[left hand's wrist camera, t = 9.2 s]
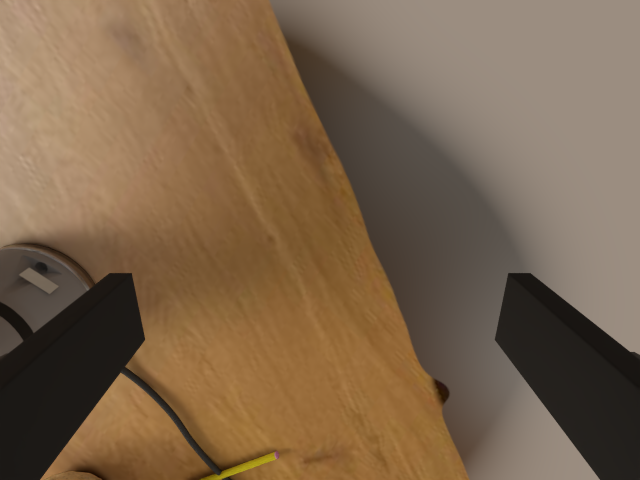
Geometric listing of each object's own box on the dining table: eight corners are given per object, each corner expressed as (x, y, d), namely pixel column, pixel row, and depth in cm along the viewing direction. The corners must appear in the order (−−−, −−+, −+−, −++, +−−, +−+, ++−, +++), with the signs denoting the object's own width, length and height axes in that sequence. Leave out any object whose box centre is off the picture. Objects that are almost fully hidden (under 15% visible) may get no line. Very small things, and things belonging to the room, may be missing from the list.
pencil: (276, 449, 54) (275, 455, 53) (279, 453, 54) (278, 459, 54) (184, 483, 57) (182, 489, 56) (188, 487, 57) (186, 493, 56)
